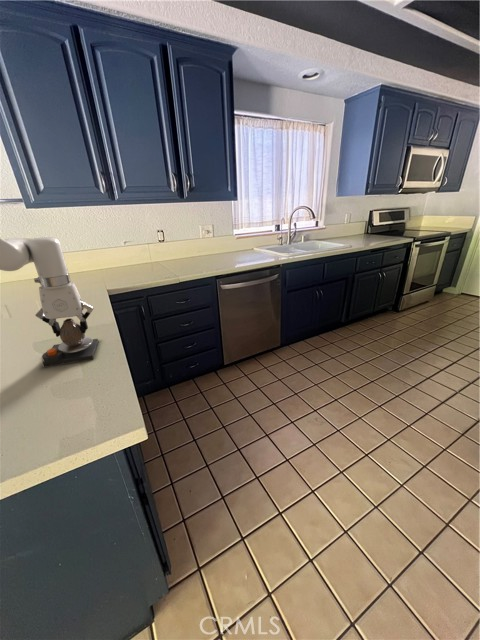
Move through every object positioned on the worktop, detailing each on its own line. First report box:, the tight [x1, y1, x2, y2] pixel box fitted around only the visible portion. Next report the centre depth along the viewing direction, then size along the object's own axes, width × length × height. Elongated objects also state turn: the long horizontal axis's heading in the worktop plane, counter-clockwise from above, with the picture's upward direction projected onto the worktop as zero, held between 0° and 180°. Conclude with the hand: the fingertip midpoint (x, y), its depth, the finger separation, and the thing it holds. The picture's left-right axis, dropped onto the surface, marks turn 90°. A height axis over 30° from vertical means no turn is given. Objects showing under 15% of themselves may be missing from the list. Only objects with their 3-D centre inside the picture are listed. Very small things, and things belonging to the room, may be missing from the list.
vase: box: [59, 317, 86, 346], centre depth 87 cm, size 7×7×9 cm
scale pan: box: [58, 336, 93, 353], centre depth 89 cm, size 10×10×1 cm
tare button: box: [46, 347, 58, 356], centre depth 84 cm, size 3×3×2 cm
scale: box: [41, 338, 99, 368], centre depth 89 cm, size 14×12×3 cm
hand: (72, 332), depth 87 cm, fingers closed on vase, 6 cm apart
